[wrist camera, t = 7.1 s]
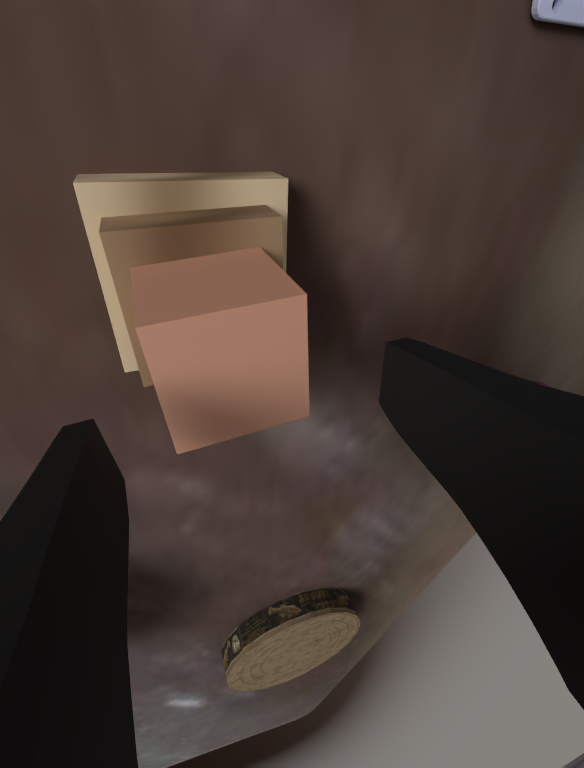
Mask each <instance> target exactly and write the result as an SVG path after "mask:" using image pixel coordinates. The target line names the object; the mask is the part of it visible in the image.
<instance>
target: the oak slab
mask: <svg viewBox="0 0 584 768" xmlns="http://www.w3.org/2000/svg"><path fill="white" fill-rule="evenodd" d="M73 185H74V188H75V192H76V196H77V199H78V203H79V207H80V210H81V214H82V218H83V221H84V225H85V228H86V232H87V236H88V239H89V243H90V247H91V250H92V254H93V258H94V261H95V265H96V269H97V272H98V276H99V280H100V283H101V287H102V291H103V294H104V298H105V301H106V305H107V309H108V312H109V316H110V320H111V323H112V327H113V331H114V334H115V338H116V342H117V345H118V349H119V353H120V356H121V360H122V363H123V367H124V371H125V372H131V371H137V370H139V368H138V365H137V361H136V358H135V355H134V351H133V348H132V344H131V341H130V337H129V334H128V330H127V327H126V324H125V320H124V317H123V313H122V310H121V306H120V303H119V300H118V296H117V293H116V289H115V286H114V282H113V279H112V275H111V272H110V269H109V265H108V262H107V258H106V255H105V251H104V248H103V244H102V241H101V238H100V234H99V228H100V222H101V217H114V216H127V215H140V214H153V213H166V212H178V211H191V210H204V209H217V208H230V207H243V206H256V205H267V206H268V207H270V208H271V209H273V210H274V211H275V212H277V213H278V214H280V215H281V216H282V227H283V271H284V272H285V273H286V256H287V213H288V178H286V177H283V176H281V175H279V174H277V173H274V172H216V173H140V174H78V175H77V176H76V178H75V180H74V182H73Z"/></svg>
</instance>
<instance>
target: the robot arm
mask: <svg viewBox="0 0 584 768" xmlns="http://www.w3.org/2000/svg"><path fill="white" fill-rule="evenodd" d="M553 1H555V3H554V7H553V9H552V5H553ZM531 11H532V16H533V18H534V19H535V20H537V21H544V22H551V23H558V24H564V25H571V26H578V27H584V0H533V3H532V8H531ZM379 403H380V405H381V407H382V408H383V410H384V412H385V413H386V415H387V417H388V418H389V420H390V422H391V423H392V425H393V426H394V428H395V429H396V431H397V432H398V434H399V435H400V436H401V437H402V439H403V440H404V441H405V442H406V443H407V445H408V446H409V447H410V448H411V450H412V451H413V452H414V453H415V454H416V456H417V457H418V458H419V459H420V460H421V461H422V463H423V464H424V465H425V466H426V467H427V469H428V470H429V471H430V472H431V473H432V475H433V476H434V477H435V478H436V479H437V481H438V482H439V483H440V484H441V485H442V486H443V488H444V489H445V490H446V491H447V492H448V494H449V495H450V496H451V497H452V499H453V500H454V501H455V502H456V504H457V505H458V506H459V508H460V509H461V510H462V512H463V513H464V515H465V516H466V518H467V519H468V521H469V522H470V523H471V525H472V526H473V528H474V529H475V531H476V532H477V534H478V535H479V537H480V538H481V540H482V541H483V543H484V544H485V546H486V547H487V549H488V550H489V552H490V553H491V555H492V556H493V558H494V560H495V561H496V563H497V564H498V566H499V568H500V569H501V571H502V572H503V574H504V575H505V577H506V578H507V580H508V582H509V584H510V585H511V587H512V589H513V590H514V592H515V594H516V595H517V597H518V599H519V600H520V602H521V604H522V605H523V607H524V609H525V611H526V612H527V614H528V616H529V617H530V619H531V621H532V622H533V624H534V626H535V628H536V630H537V632H538V633H539V635H540V637H541V639H542V641H543V642H544V644H545V646H546V648H547V650H548V652H549V653H550V655H551V657H552V659H553V661H554V663H555V664H556V666H557V668H558V670H559V672H560V674H561V676H562V678H563V680H564V682H565V684H566V686H567V688H568V690H569V691H570V693H571V694H572V695H573V696H574V698H575V699H576V700H577V702H578V703H579V704H580V706H581V707H582V708H583V709H584V396H580V395H576V394H573V393H569V392H565V391H561V390H557V389H554V388H551V387H547V386H544V385H540V384H537V383H534V382H531V381H528V380H525V379H522V378H519V377H516V376H513V375H510V374H507V373H504V372H501V371H498V370H495V369H493V368H490V367H487V366H484V365H482V364H479V363H476V362H474V361H471V360H468V359H466V358H463V357H460V356H458V355H455V354H452V353H450V352H447V351H444V350H442V349H439V348H436V347H434V346H431V345H428V344H425V343H422V342H419V341H416V340H413V339H409V338H402V339H398V340H394V341H391V342H387V343H386V344H385V353H384V362H383V371H382V379H381V388H380V397H379ZM128 549H129V516H128V506H127V497H126V489H125V480H124V478H123V476H122V474H121V472H120V470H119V468H118V466H117V464H116V462H115V460H114V458H113V456H112V454H111V452H110V450H109V448H108V446H107V444H106V442H105V441H104V439H103V437H102V435H101V433H100V431H99V429H98V427H97V425H96V423H95V421H94V419H90V420H86V421H82V422H79V423H75V424H71V425H67V426H63V427H62V429H61V430H60V432H59V433H58V435H57V436H56V438H55V439H54V441H53V442H52V444H51V445H50V447H49V448H48V450H47V451H46V453H45V455H44V456H43V458H42V459H41V461H40V462H39V464H38V466H37V467H36V469H35V470H34V472H33V473H32V475H31V476H30V478H29V480H28V481H27V483H26V484H25V486H24V487H23V489H22V490H21V492H20V493H19V495H18V496H17V498H16V499H15V500H14V502H13V503H12V505H11V506H10V508H9V509H8V511H7V512H6V514H5V515H4V517H3V518H2V520H1V521H0V768H138V762H137V753H136V743H135V732H134V721H133V710H132V700H131V687H130V674H129V661H128V648H127V592H128ZM562 768H584V753H583V754H582V755H580V756H579V757H577V758H576V759H575V760H573V761H571V762H570V763H568V764H567V765H565V766H564V767H562Z"/></svg>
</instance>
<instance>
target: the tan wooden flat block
mask: <svg viewBox="0 0 584 768" xmlns="http://www.w3.org/2000/svg"><path fill="white" fill-rule="evenodd" d="M99 234H100V238H101V241H102V244H103V248H104V251H105V255H106V258H107V262H108V265H109V269H110V272H111V275H112V279H113V282H114V286H115V289H116V293H117V296H118V300H119V303H120V306H121V310H122V313H123V317H124V320H125V324H126V327H127V330H128V334H129V337H130V341H131V344H132V348H133V351H134V355H135V358H136V361H137V365H138V368H139V372H140V375H141V379H142V382H143V386H144V387H147V386H152V385H154V383H153V380H152V377H151V374H150V371H149V368H148V365H147V362H146V359H145V356H144V353H143V350H142V347H141V344H140V341H139V338H138V335H137V332H136V329H135V321H134V309H133V296H132V284H131V271H130V268H132V267H138V266H145V265H151V264H157V263H163V262H170V261H176V260H182V259H188V258H195V257H201V256H207V255H213V254H220V253H226V252H232V251H239V250H245V249H251V248H257V247H260V248H261V249H262V250H263V251H264V252H265V253H266V254H267V255H268V256H269V257H270V258H271V259H272V260H273V261H274V262H275V263H276V264H277V265H278V266H279V267H280V268H281V269H282V270H283V227H282V216H281V215H280V214H278V213H277V212H275V211H274V210H273V209H271V208H270V207H268V206H267V205H256V206H243V207H230V208H217V209H204V210H191V211H178V212H166V213H153V214H140V215H127V216H114V217H101V222H100V228H99Z"/></svg>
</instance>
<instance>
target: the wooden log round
mask: <svg viewBox="0 0 584 768" xmlns="http://www.w3.org/2000/svg"><path fill="white" fill-rule="evenodd" d="M359 626H360V620H359V618H358V616H357V614H356V612H355V610H354V608H353V605H352V603H351V601H350V599H349V597H348V595H347V593H346V592H345V591H343V590H340V589H338V588H317V589H312V590H308V591H303V592H299V593H297V594H294V595H291V596H289V597H286V598H283V599H281V600H278V601H276V602H275V603H273V604H271V605H269V606H267V607H265V608H263V609H261V610H260V611H258V612H256V613H255V614H253V615H252V616H251V617H249V618H248V619H247V620H245V621H244V622H243V623H241V624H240V625H239V626H238V627H237V628H236V629H235V630H234V631H233V632H232V633H231V634H230V635H229V636H228V637H227V638H226V641H225V643H224V645H223V647H222V649H221V652H222V657H223V663H224V668H225V673H226V679H227V684H228V687H230V688H232V689H234V690H236V691H253V690H259V689H264V688H268V687H271V686H275V685H278V684H281V683H284V682H286V681H289V680H291V679H293V678H295V677H298V676H300V675H302V674H304V673H306V672H308V671H310V670H312V669H313V668H315V667H317V666H319V665H321V664H322V663H324V662H325V661H327V660H328V659H329V658H331V657H332V656H334V655H335V654H337V653H338V652H339V651H340V650H341V649H342V648H344V647H345V646H346V645H347V644H348V643H349V642H350V641H351V640H352V638H353V637H354V636H355V634H356V633H357V632H358V629H359Z"/></svg>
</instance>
